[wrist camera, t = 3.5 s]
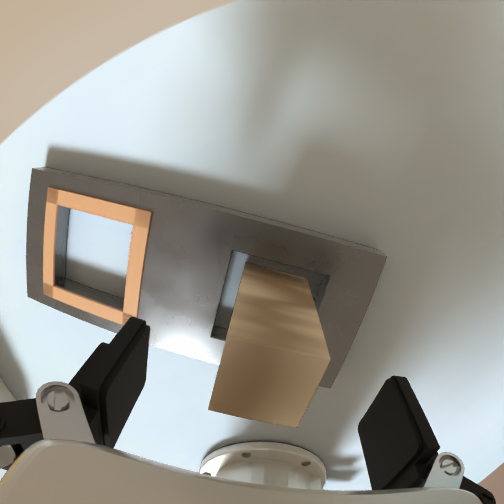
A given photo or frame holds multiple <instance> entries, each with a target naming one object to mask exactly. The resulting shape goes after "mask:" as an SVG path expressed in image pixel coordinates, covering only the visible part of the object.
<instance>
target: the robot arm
mask: <svg viewBox="0 0 504 504" xmlns="http://www.w3.org/2000/svg"><path fill="white" fill-rule="evenodd" d="M149 337H150V326H148V325H146V321H145V320H142V319H139V318H136V317H133V316H131V317H130V318H129V319H128V321H127V322H126V323H125V324H124V326H123V327H122V328H121V329H120V331H119V332H118V333H117V335H116V336H115V337H114V338H113V340H112V341H111V342H110V344H107V343H104V342H103V343H101V344H100V345H99V346H98V347H97V348H96V350H95V351H94V352H93V353H92V355H91V356H90V357H89V358H88V360H87V361H86V362H85V363H84V365H83V366H82V367H81V368H80V370H79V371H78V372H77V374H76V375H75V376H74V377H73V379H72V380H71V381H70V383H69V384H67V383H63V382H49V383H46V384H44V385H42V386H41V387H40V388H39V389H38V391H37V393H36V398H34V399H26V400H19V401H10V402H1V403H0V469H1V468H2V469H5V470H7V472H6V473H5V475H4V476H3V478H2V479H1V481H0V504H496V502H495V498H494V496H493V494H492V493H491V492H489V491H488V490H486V489H484V488H483V487H481V486H479V485H478V484H476V483H474V482H473V481H471V480H469V479H468V478H466V477H464V476H463V474H464V465H463V463H462V461H461V460H460V458H459V457H458V456H456V455H455V454H452V453H450V452H442V453H440V454H439V455H438V452H437V451H438V450H439V449H440V446H439V444H438V442H437V439H436V437H435V435H434V433H433V431H432V429H431V427H430V424H429V422H428V420H427V418H426V416H425V414H424V412H423V410H422V408H421V406H420V404H419V402H418V400H417V398H416V396H415V394H414V392H413V390H412V388H411V386H410V384H409V382H408V380H407V378H406V377H401V376H392V377H391V378H390V379H387V380H386V381H385V383H384V385H383V386H382V388H381V390H380V391H379V393H378V395H377V396H376V398H375V399H374V401H373V403H372V404H371V406H370V407H369V409H368V410H367V412H366V413H365V415H364V416H363V418H362V419H361V421H360V423H359V425H358V433H359V437H360V441H361V445H362V449H363V453H364V457H365V461H366V465H367V470H368V474H369V478H370V483H371V487H372V490H367V491H337V490H324V489H322V488H323V487H324V485H325V483H326V469H325V466H324V464H323V462H322V461H321V460H320V459H319V458H318V457H317V456H316V455H314V454H313V453H311V452H309V451H307V450H304V449H302V448H300V447H296V446H292V445H288V444H282V443H276V442H246V443H239V444H234V445H230V446H226V447H223V448H221V449H218V450H216V451H214V452H212V453H211V454H209V455H208V456H207V457H206V458H205V459H204V460H203V461H202V464H201V466H200V470H199V473H197V472H193V471H189V470H185V469H181V468H177V467H174V466H170V465H166V464H163V463H159V462H156V461H152V460H149V459H146V458H143V457H139V456H136V455H133V454H130V453H126V452H123V451H120V450H117V449H114V446H115V444H116V442H117V440H118V438H119V436H120V434H121V431H122V429H123V427H124V425H125V423H126V421H127V419H128V417H129V415H130V413H131V411H132V409H133V407H134V405H135V403H136V401H137V399H138V397H139V395H140V393H141V391H142V389H143V387H144V384H145V381H146V371H147V358H148V347H149Z"/></svg>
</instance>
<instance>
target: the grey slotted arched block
mask: <svg viewBox="0 0 504 504" xmlns="http://www.w3.org/2000/svg"><path fill="white" fill-rule="evenodd" d="M10 401H17V400H16V399H15V397H14V396H13V395H12V393H11V392H10V391H9V389H8V388H7V386H6V385H5V384H4V382H3V381H2V379H1V378H0V403H1V402H10Z"/></svg>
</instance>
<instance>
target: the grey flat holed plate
mask: <svg viewBox="0 0 504 504" xmlns="http://www.w3.org/2000/svg"><path fill="white" fill-rule="evenodd" d="M70 208H72V209H75V210H79V211H83V212H87V213H90V214H94V215H98V216H102V217H105V218H109V219H113V220H117V221H120V222H124V223H128V224H132V225H133V230H132V237H131V244H130V251H129V259H128V267H127V276H126V286H125V296H124V299H122V298H119V297H116V296H113V295H110V294H107V293H104V292H102V291H99V290H96V289H93V288H90V287H87V286H85V285H82V284H79V283H76V282H74V281H71V280H68V279H66V278H65V270H66V247H67V232H68V221H69V211H70ZM232 250H234V251H238V252H242V253H246V254H249V255H253V256H257V257H261V258H265V259H269V260H272V261H276V262H280V263H284V264H288V265H292V266H295V267H299V268H303V269H307V270H311V271H315V272H319V273H322V274H324V277H323V280H322V283H321V286H320V289H319V292H318V294H317V297H316V300H315V306H316V310H317V313H318V317H319V320H320V323H321V327H322V330H323V334H324V337H325V341H326V344H327V348H328V352H329V355H330V362H329V364H328V366H327V368H326V370H325V372H324V375H323V377H322V379H321V381H320V383H319V385H318V386H321V387H327V388H331V386H332V384H333V382H334V380H335V378H336V376H337V374H338V372H339V370H340V368H341V366H342V364H343V362H344V360H345V357H346V355H347V353H348V351H349V349H350V347H351V344H352V342H353V340H354V338H355V336H356V333H357V331H358V329H359V326H360V324H361V322H362V319H363V317H364V315H365V312H366V310H367V307H368V305H369V302H370V300H371V297H372V295H373V292H374V290H375V287H376V285H377V282H378V279H379V277H380V274H381V271H382V269H383V266H384V263H385V260H386V258H387V257H386V256H385V255H384V254H383V253H382V252H381V251H379V250H377V249H374V248H370V247H367V246H363V245H360V244H357V243H353V242H350V241H346V240H343V239H339V238H336V237H332V236H329V235H325V234H322V233H318V232H314V231H311V230H307V229H304V228H300V227H296V226H293V225H289V224H285V223H282V222H278V221H274V220H270V219H267V218H263V217H259V216H255V215H251V214H248V213H244V212H240V211H236V210H232V209H228V208H224V207H220V206H216V205H212V204H208V203H204V202H200V201H196V200H192V199H188V198H184V197H179V196H175V195H171V194H167V193H162V192H158V191H154V190H150V189H145V188H141V187H136V186H132V185H128V184H123V183H119V182H114V181H109V180H105V179H100V178H95V177H91V176H86V175H81V174H76V173H71V172H67V171H62V170H57V169H52V168H46V167H41V168H32V173H31V182H30V191H29V202H28V217H27V243H26V268H27V294H28V297H30V298H32V299H34V300H36V301H39V302H41V303H43V304H45V305H47V306H50V307H52V308H54V309H57V310H59V311H61V312H64V313H66V314H68V315H71V316H73V317H76V318H78V319H81V320H83V321H86V322H88V323H91V324H93V325H96V326H99V327H101V328H104V329H107V330H109V331H112V332H115V333H118V332H119V331H120V329H121V328H122V327H123V326H124V324H125V323H126V322H127V321H128V319H129V318H130V317H131V316H133V317H136V318H139V319H142V320H145V321H146V325H148V326H150V337H149V344H150V345H153V346H156V347H159V348H162V349H165V350H169V351H172V352H175V353H179V354H182V355H185V356H189V357H192V358H196V359H199V360H203V361H207V362H210V363H214V364H218V365H219V364H220V360H221V356H222V352H223V348H224V344H225V340H226V336H227V332H228V330H227V329H223V328H219V327H216V326H214V323H215V319H216V315H217V311H218V306H219V302H220V298H221V294H222V290H223V285H224V281H225V277H226V273H227V269H228V265H229V261H230V257H231V253H232Z"/></svg>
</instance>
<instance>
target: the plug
mask: <svg viewBox="0 0 504 504" xmlns="http://www.w3.org/2000/svg"><path fill="white" fill-rule="evenodd" d="M329 362H330V355H329V352H328V348H327V344H326V341H325V337H324V334H323V330H322V327H321V323H320V320H319V317H318V313H317V310H316V306H315V303H314V300H313V296H312V293H311V290H310V286H309V283H308V280H307V278H305V277H301V276H297V275H293V274H289V273H285V272H281V271H278V270H274V269H270V268H266V267H262V266H258V265H254V264H251V263H247V262H246V263H245V267H244V271H243V274H242V278H241V282H240V286H239V290H238V294H237V297H236V301H235V305H234V309H233V313H232V317H231V321H230V324H229V328H228V332H227V336H226V340H225V344H224V348H223V352H222V356H221V360H220V364H219V368H218V372H217V376H216V380H215V384H214V388H213V392H212V396H211V400H210V404H209V408H208V410H211V411H215V412H219V413H224V414H228V415H232V416H237V417H241V418H246V419H251V420H256V421H261V422H266V423H271V424H277V425H283V426H289V427H296V428H297V426H298V425H299V423H300V421H301V419H302V417H303V415H304V413H305V411H306V409H307V407H308V405H309V403H310V401H311V399H312V397H313V395H314V393H315V391H316V389H317V387H318V385H319V383H320V381H321V379H322V377H323V375H324V372H325V370H326V368H327V366H328V364H329Z"/></svg>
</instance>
